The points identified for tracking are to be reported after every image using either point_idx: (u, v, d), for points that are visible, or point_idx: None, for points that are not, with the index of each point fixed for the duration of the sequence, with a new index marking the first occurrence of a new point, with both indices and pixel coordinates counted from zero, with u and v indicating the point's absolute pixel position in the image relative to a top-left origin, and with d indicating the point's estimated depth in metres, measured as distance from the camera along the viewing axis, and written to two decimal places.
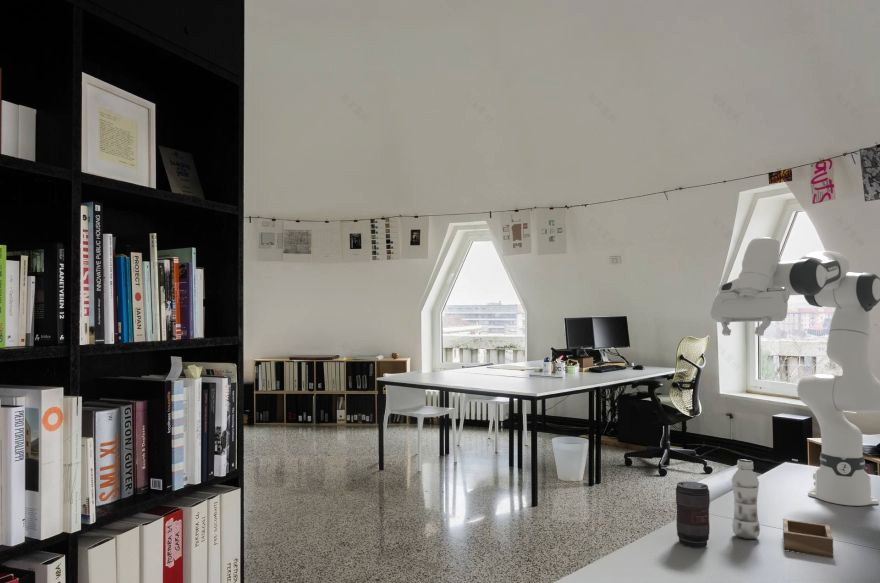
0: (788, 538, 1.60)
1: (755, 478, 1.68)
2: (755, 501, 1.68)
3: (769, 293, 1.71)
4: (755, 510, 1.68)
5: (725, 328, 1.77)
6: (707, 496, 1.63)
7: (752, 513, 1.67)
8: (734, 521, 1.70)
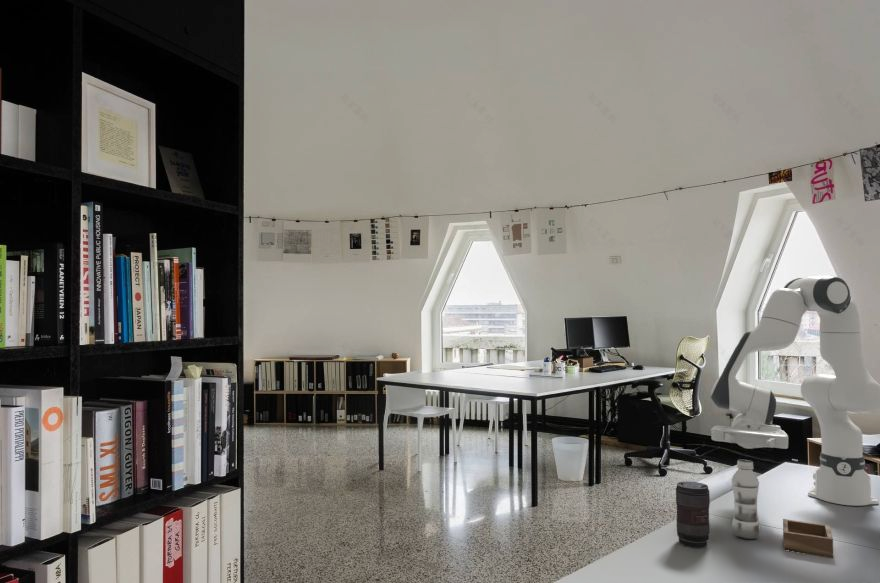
0: (788, 538, 1.60)
1: (755, 478, 1.68)
2: (755, 501, 1.68)
3: None
4: (755, 510, 1.68)
5: None
6: (707, 496, 1.63)
7: (752, 513, 1.67)
8: (734, 521, 1.70)
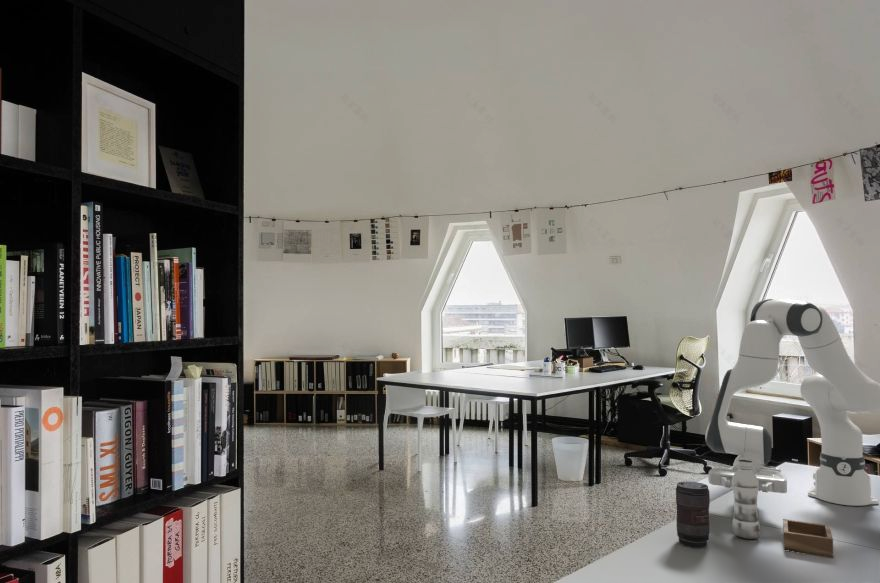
0: (788, 538, 1.60)
1: (755, 478, 1.68)
2: (755, 501, 1.68)
3: None
4: (755, 510, 1.68)
5: None
6: (707, 496, 1.63)
7: (752, 513, 1.67)
8: (734, 521, 1.70)
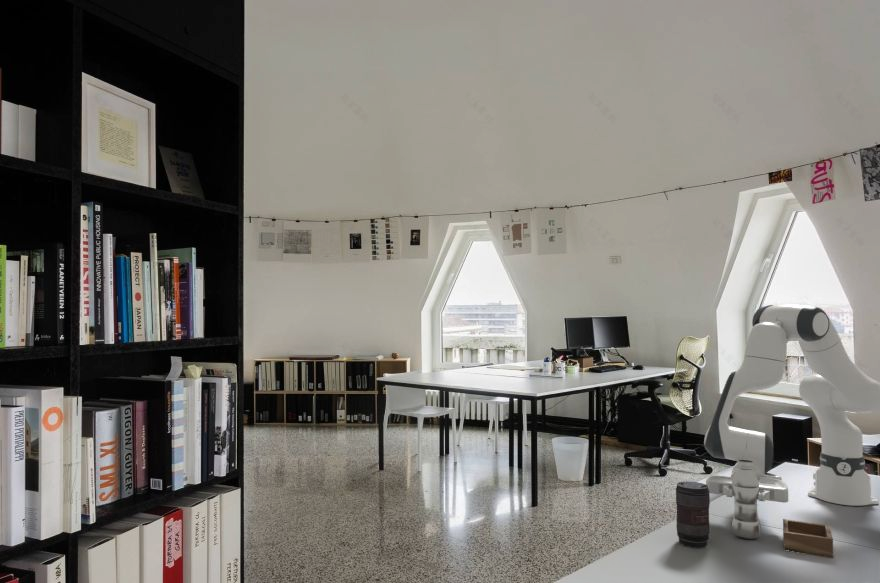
0: (788, 538, 1.60)
1: (755, 478, 1.68)
2: (755, 501, 1.68)
3: None
4: (755, 510, 1.68)
5: None
6: (707, 496, 1.63)
7: (752, 513, 1.67)
8: (734, 521, 1.70)
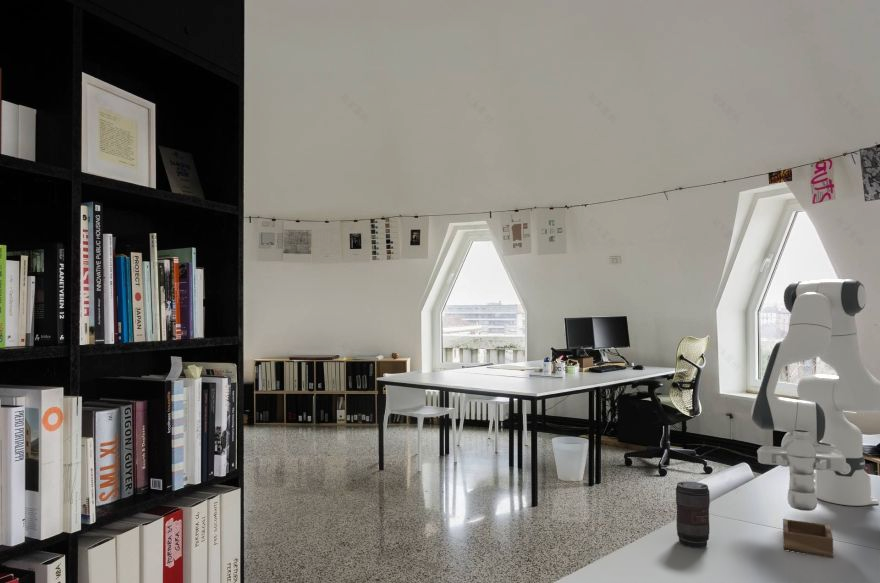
0: (788, 538, 1.60)
1: (812, 448, 1.63)
2: (812, 472, 1.62)
3: None
4: (812, 481, 1.62)
5: None
6: (707, 496, 1.63)
7: (809, 484, 1.62)
8: (790, 493, 1.64)
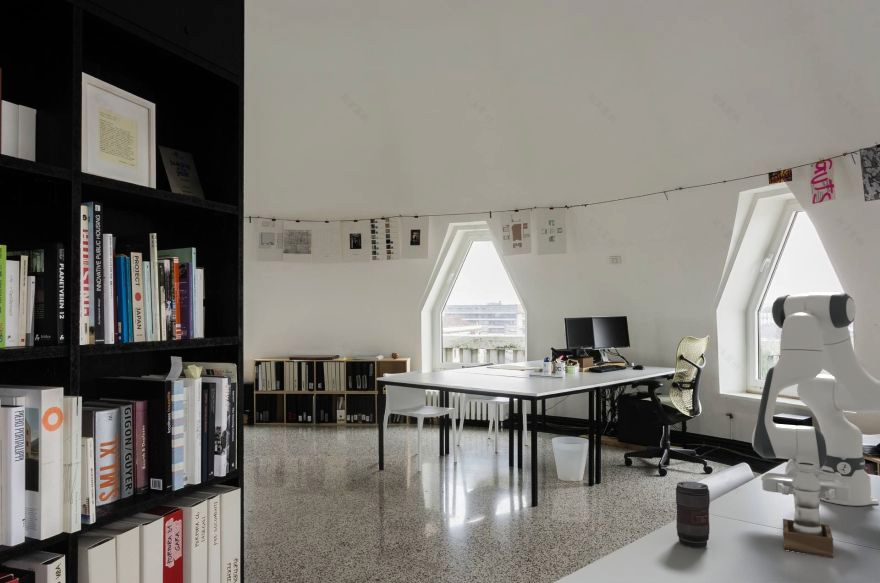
0: (788, 538, 1.60)
1: (817, 481, 1.62)
2: (818, 505, 1.62)
3: None
4: (818, 515, 1.62)
5: None
6: (707, 496, 1.63)
7: (814, 518, 1.61)
8: (795, 526, 1.63)
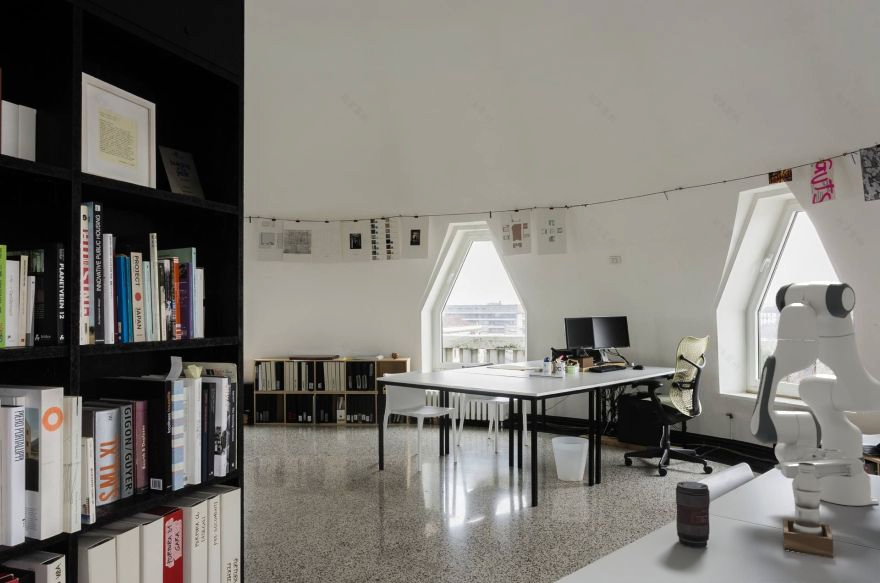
0: (788, 538, 1.60)
1: (818, 482, 1.62)
2: (818, 506, 1.61)
3: None
4: (818, 515, 1.61)
5: None
6: (707, 496, 1.63)
7: (815, 518, 1.61)
8: (795, 527, 1.63)
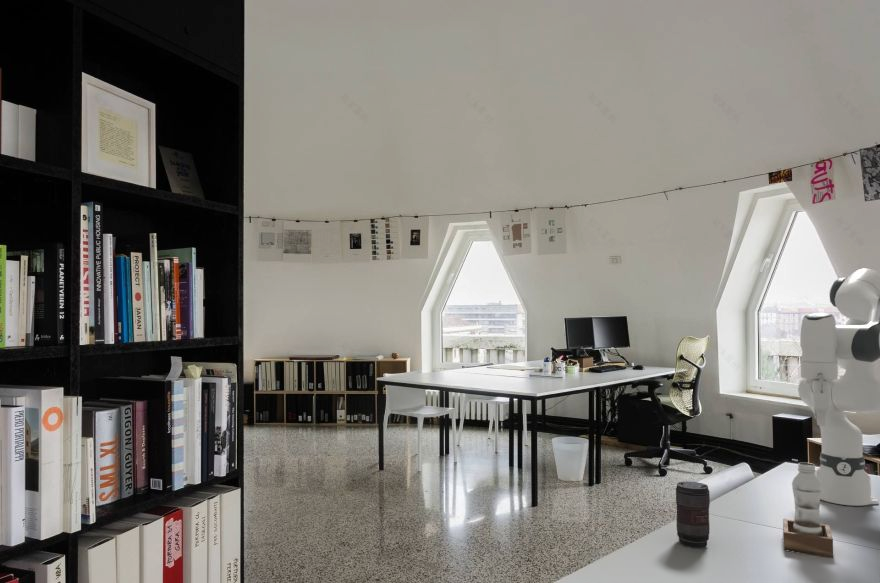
0: (788, 538, 1.60)
1: (818, 482, 1.62)
2: (818, 506, 1.61)
3: None
4: (818, 515, 1.61)
5: None
6: (707, 496, 1.63)
7: (815, 518, 1.61)
8: (795, 527, 1.63)
